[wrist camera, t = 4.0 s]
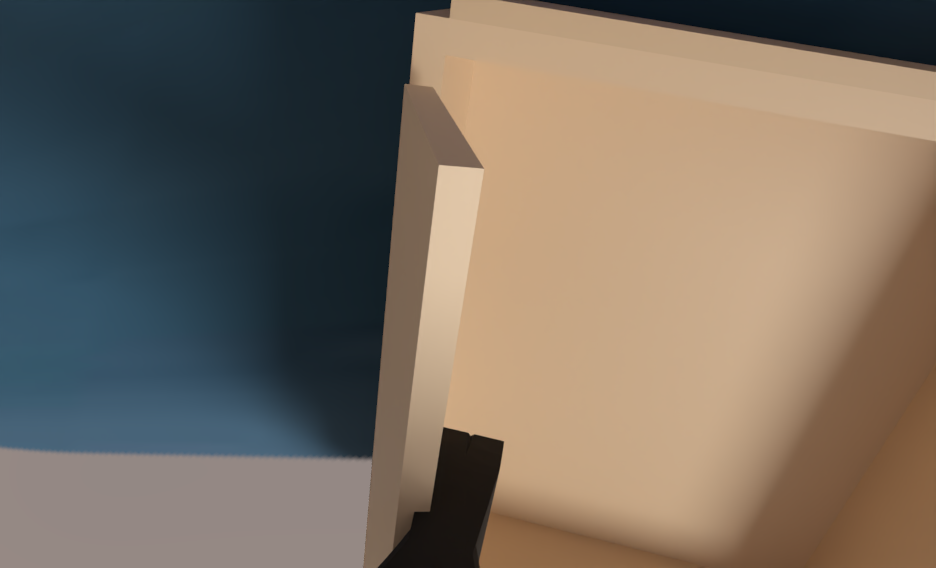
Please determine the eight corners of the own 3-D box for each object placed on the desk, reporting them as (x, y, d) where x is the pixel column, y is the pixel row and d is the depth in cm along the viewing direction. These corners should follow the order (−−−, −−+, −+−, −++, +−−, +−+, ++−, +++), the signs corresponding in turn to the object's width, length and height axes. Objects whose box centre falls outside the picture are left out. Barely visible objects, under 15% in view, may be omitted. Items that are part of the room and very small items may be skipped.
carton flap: (483, 168, 6) (438, 164, 6) (388, 770, 13) (365, 773, 13) (432, 87, 10) (404, 83, 10) (379, 581, 17) (362, 582, 16)
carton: (1138, 99, 12) (1369, 143, 8) (803, 597, 20) (849, 727, 16) (462, -12, 13) (418, -14, 10) (400, 496, 21) (363, 595, 18)
